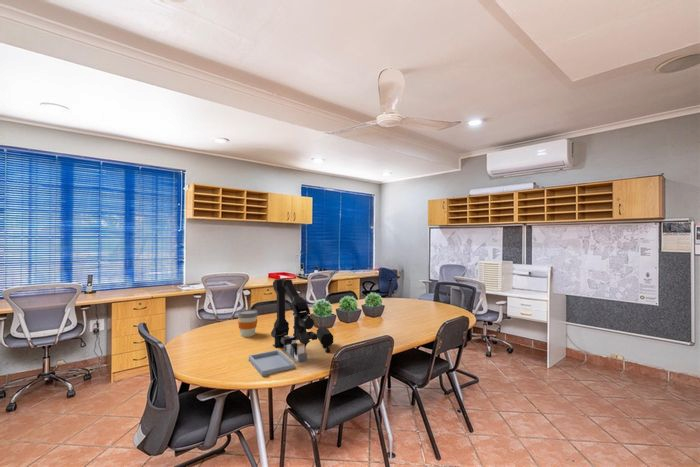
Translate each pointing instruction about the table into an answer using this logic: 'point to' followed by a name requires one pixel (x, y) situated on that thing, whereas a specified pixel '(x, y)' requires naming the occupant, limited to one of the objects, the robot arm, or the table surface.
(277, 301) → the robot arm
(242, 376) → the table surface
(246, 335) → the reusable coffee cup
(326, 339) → the security camera
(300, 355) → the clip block
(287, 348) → the block
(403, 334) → the table surface
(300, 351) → the block
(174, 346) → the table surface
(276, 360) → the tray
